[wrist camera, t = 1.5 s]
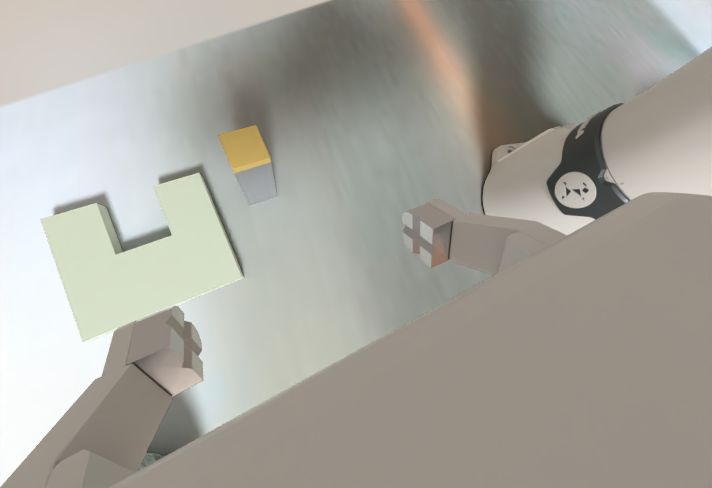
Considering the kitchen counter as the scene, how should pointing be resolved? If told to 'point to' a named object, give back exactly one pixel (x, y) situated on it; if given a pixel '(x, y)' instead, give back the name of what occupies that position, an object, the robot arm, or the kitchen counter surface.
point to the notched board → (141, 259)
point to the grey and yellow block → (250, 163)
